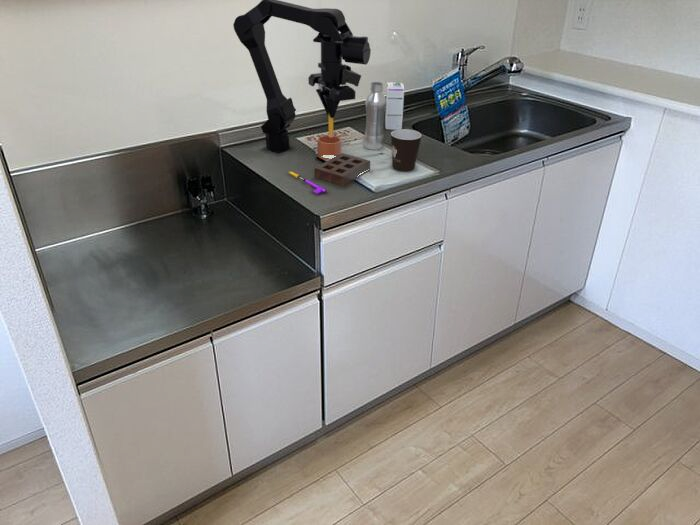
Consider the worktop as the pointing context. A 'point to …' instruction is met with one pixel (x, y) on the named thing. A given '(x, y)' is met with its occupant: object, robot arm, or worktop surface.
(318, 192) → the purple long piece
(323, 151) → the pen pot
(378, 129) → the silver metal bottle
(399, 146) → the coffee mug
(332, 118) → the pencil
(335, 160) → the pencil block
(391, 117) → the syrup box
